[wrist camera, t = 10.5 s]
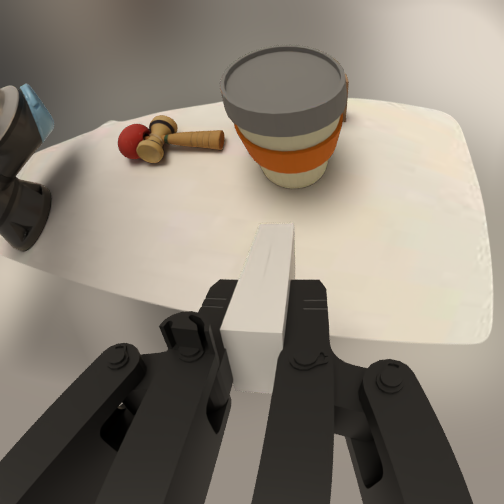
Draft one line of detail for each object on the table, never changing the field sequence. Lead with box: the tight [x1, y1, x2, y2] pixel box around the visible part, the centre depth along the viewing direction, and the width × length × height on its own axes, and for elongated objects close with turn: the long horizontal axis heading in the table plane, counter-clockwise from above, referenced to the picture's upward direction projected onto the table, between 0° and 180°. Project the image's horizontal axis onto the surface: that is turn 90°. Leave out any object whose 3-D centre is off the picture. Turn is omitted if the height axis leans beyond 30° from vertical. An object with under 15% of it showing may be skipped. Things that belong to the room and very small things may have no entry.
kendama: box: [118, 115, 224, 163], centre depth 39 cm, size 8×6×18 cm
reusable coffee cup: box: [220, 45, 347, 189], centre depth 29 cm, size 13×13×15 cm
